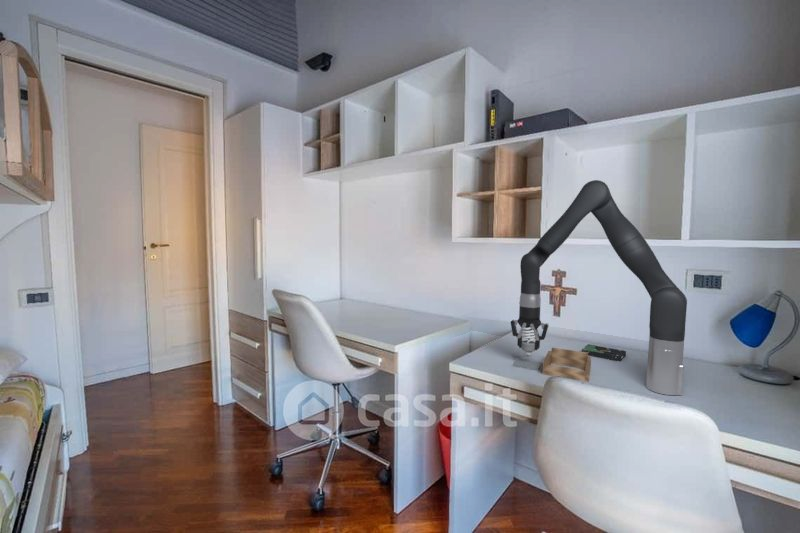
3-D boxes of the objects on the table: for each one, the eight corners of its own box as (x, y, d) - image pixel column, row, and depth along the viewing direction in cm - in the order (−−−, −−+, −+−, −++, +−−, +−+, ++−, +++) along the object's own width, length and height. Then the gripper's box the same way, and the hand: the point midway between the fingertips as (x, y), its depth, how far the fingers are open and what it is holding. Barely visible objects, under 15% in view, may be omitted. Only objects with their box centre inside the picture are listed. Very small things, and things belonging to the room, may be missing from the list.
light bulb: (535, 358, 144) (536, 327, 143) (519, 357, 146) (521, 326, 145) (536, 354, 149) (537, 324, 148) (521, 352, 151) (522, 322, 150)
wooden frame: (590, 368, 144) (591, 352, 143) (588, 381, 131) (589, 364, 130) (548, 361, 151) (548, 347, 151) (542, 374, 138) (543, 357, 137)
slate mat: (541, 363, 149) (541, 361, 149) (537, 370, 142) (538, 368, 141) (518, 359, 154) (518, 358, 154) (513, 366, 146) (513, 364, 146)
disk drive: (625, 357, 160) (587, 349, 169) (626, 350, 159) (587, 343, 169) (620, 363, 152) (580, 355, 161) (621, 356, 152) (581, 348, 161)
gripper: (551, 305, 146) (549, 348, 147) (512, 301, 152) (511, 343, 154) (548, 308, 139) (546, 354, 140) (508, 304, 146) (507, 348, 147)
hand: (528, 348), depth 147 cm, fingers closed on light bulb, 5 cm apart
